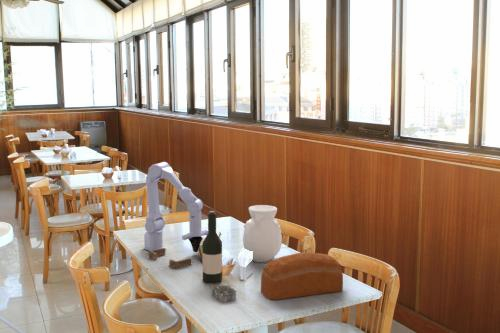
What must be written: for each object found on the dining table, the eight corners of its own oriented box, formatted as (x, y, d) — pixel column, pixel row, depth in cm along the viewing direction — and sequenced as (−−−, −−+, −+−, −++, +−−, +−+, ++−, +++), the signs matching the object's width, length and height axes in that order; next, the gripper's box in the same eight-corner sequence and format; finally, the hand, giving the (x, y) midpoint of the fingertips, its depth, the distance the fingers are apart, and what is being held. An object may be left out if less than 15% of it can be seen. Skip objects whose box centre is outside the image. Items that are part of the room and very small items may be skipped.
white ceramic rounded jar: (275, 267, 263) (275, 213, 259) (237, 262, 268) (237, 210, 265) (286, 255, 280) (286, 205, 276) (250, 251, 286) (250, 202, 282)
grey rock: (209, 294, 231) (209, 284, 230) (227, 291, 234) (227, 281, 233) (220, 303, 221) (220, 293, 220) (238, 300, 224) (238, 290, 224)
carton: (201, 262, 270) (201, 254, 269) (198, 252, 285) (198, 244, 285) (219, 261, 271) (219, 253, 270) (215, 251, 287) (215, 243, 286)
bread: (257, 289, 235) (258, 253, 233) (330, 280, 246) (330, 245, 243) (270, 302, 222) (270, 263, 220) (345, 292, 233) (347, 254, 231)
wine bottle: (226, 279, 247) (225, 210, 242) (215, 285, 239) (214, 214, 235) (209, 276, 251) (209, 208, 246) (198, 281, 244) (198, 212, 239)
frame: (148, 257, 276) (148, 251, 276) (163, 253, 282) (163, 247, 281) (176, 268, 260) (176, 262, 259) (191, 264, 266) (191, 258, 265)
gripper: (188, 228, 271) (188, 256, 273) (212, 223, 281) (212, 250, 283) (179, 225, 276) (179, 253, 278) (203, 220, 286) (203, 247, 288)
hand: (195, 251), depth 281 cm, fingers closed
